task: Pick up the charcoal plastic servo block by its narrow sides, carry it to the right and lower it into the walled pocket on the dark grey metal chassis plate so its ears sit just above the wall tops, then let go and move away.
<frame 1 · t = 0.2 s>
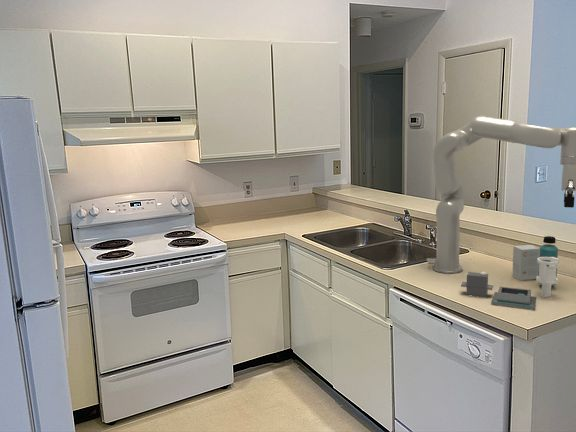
hand: (568, 204, 188), 31 cm above the worktop, fingers open, 9 cm apart
clear white hollow cylinder: (546, 296, 181), on the worktop
chassis: (513, 301, 177), on the worktop
beverage bottle: (546, 287, 190), on the worktop
servo: (476, 294, 185), on the worktop
small box: (525, 278, 201), on the worktop
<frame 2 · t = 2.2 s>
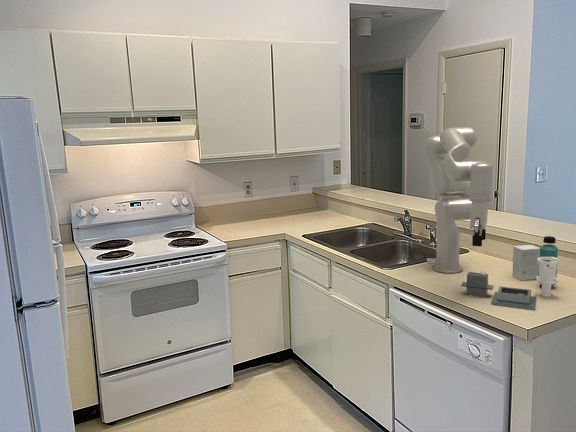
hand: (478, 242, 181), 20 cm above the worktop, fingers open, 9 cm apart
nothing on the worktop moved.
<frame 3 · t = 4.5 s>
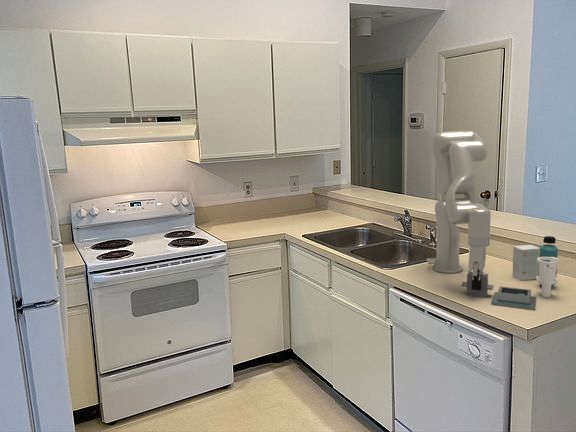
hand: (477, 287, 185), 3 cm above the worktop, fingers closed on servo, 4 cm apart
servo: (477, 294, 185), on the worktop, touching gripper
everything else where it was.
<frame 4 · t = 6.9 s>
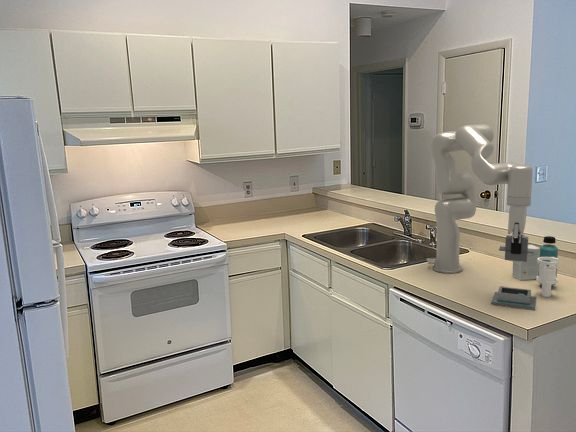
hand: (516, 251, 173), 19 cm above the worktop, fingers closed on servo, 4 cm apart
servo: (516, 259, 173), point 16 cm above the worktop, touching gripper
everything else where it was.
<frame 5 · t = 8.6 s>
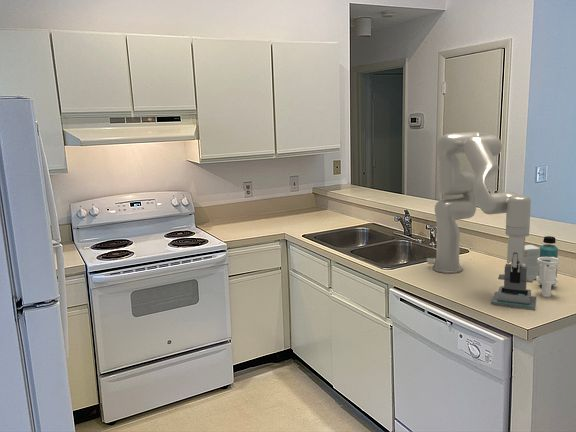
hand: (515, 280, 175), 8 cm above the worktop, fingers closed on servo, 4 cm apart
servo: (515, 287, 175), point 5 cm above the worktop, touching gripper
everything else where it was.
when the fingers open (5 cm above the worktop, at t = 9.7 s): servo drops 1 cm, resting on chassis.
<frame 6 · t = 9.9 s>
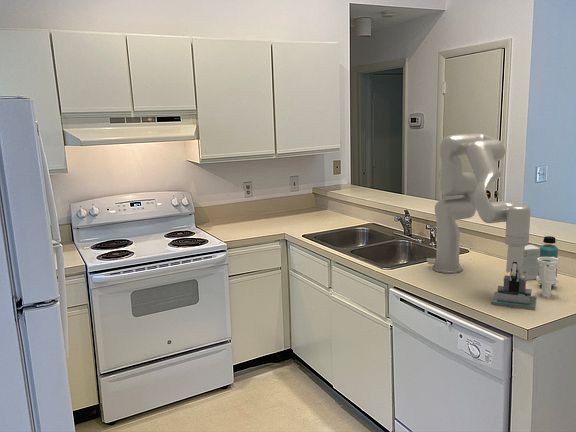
hand: (514, 288, 176), 5 cm above the worktop, fingers open, 6 cm apart
servo: (513, 299, 177), point 1 cm above the worktop, touching chassis
everything else where it was.
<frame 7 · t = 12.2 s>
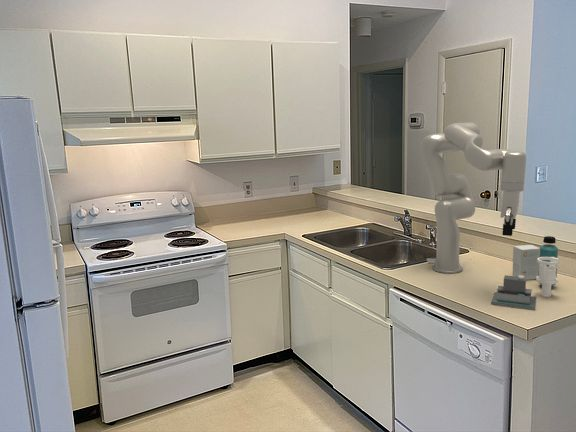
hand: (508, 231, 180), 24 cm above the worktop, fingers open, 9 cm apart
nothing on the worktop moved.
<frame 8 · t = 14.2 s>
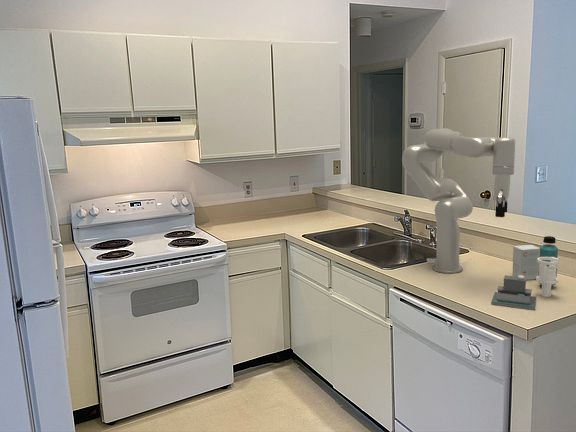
hand: (501, 214, 190), 28 cm above the worktop, fingers open, 9 cm apart
nothing on the worktop moved.
at the end: servo 0.0 cm off-centre on the chassis, point 1.0 cm above the chassis's base; servo tilted 0°; the gripper is holding nothing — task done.
